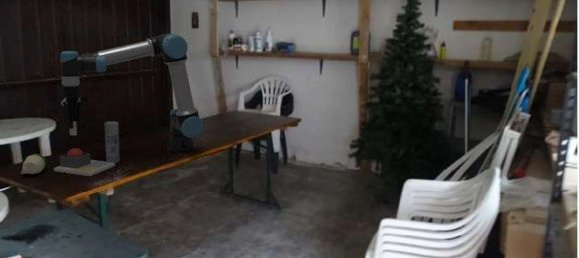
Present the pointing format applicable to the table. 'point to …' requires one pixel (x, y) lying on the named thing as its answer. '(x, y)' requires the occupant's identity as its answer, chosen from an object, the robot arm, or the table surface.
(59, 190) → the table surface
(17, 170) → the table surface
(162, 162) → the table surface
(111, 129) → the spray paint can
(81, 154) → the red dome
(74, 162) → the tray with gray block
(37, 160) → the cartoon head
